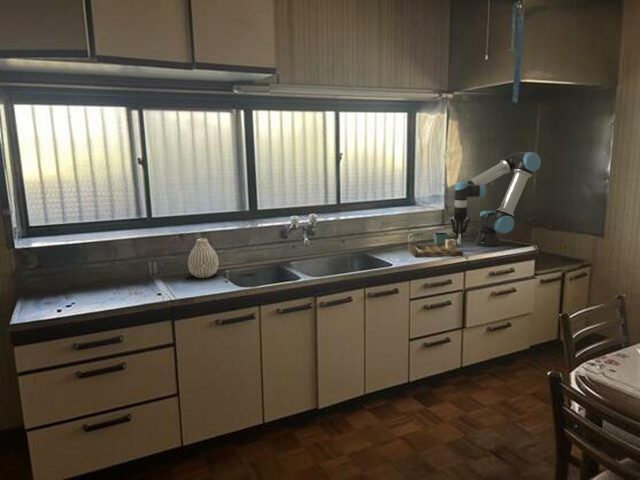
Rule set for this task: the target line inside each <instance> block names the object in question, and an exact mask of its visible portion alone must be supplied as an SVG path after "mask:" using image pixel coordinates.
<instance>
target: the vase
mask: <svg viewBox="0 0 640 480" xmlns="http://www.w3.org/2000/svg"><path fill="white" fill-rule="evenodd" d="M219 261H220V260H219V256H218V254H217V252H216V250H215V249H214V248H213V247H212V246H211V245H210V241H208V239H207V238H205V237H204V238H202V237H201V238H198V239H196V241H195V244H194V246H193V248H192V249H191V251H190V253H189V255H188V260H187V266H188V267H187V268H188V269H189V272H190V274H192V275H193V276H194V277H195V278H197V279H198V278H199V279H206V278H211V277H212V276H214V275H215V274H216V273H217V271H218V268H219V265H220V264H219V263H220V262H219Z"/></svg>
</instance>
